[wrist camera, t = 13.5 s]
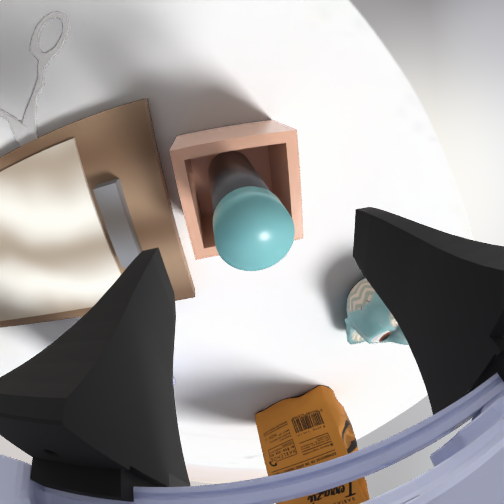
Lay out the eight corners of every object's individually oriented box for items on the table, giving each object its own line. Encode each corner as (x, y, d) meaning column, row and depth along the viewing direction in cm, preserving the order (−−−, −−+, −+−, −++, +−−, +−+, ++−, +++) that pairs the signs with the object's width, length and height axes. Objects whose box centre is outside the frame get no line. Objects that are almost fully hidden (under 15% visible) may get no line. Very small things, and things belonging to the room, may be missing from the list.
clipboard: (194, 289, 23) (195, 305, 22) (-3, 322, 21) (-10, 334, 20) (147, 98, 15) (141, 99, 13) (-65, 201, 13) (-76, 210, 11)
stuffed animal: (391, 377, 29) (342, 379, 21) (362, 334, 34) (307, 318, 27) (458, 314, 25) (440, 289, 18) (422, 273, 30) (386, 234, 23)
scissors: (64, -11, 9) (129, 243, 20) (68, -8, 10) (131, 237, 20) (-39, 63, 8) (28, 273, 19) (-33, 63, 9) (32, 268, 20)
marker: (255, 188, 19) (296, 262, 12) (211, 196, 19) (222, 277, 11) (249, 145, 18) (292, 192, 10) (202, 153, 17) (207, 207, 10)
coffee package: (342, 401, 40) (388, 516, 22) (272, 429, 41) (303, 544, 23) (329, 377, 35) (388, 521, 16) (246, 410, 36) (279, 553, 17)
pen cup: (280, 204, 21) (303, 238, 16) (195, 221, 20) (195, 259, 16) (272, 119, 17) (296, 129, 13) (176, 135, 17) (169, 150, 13)
